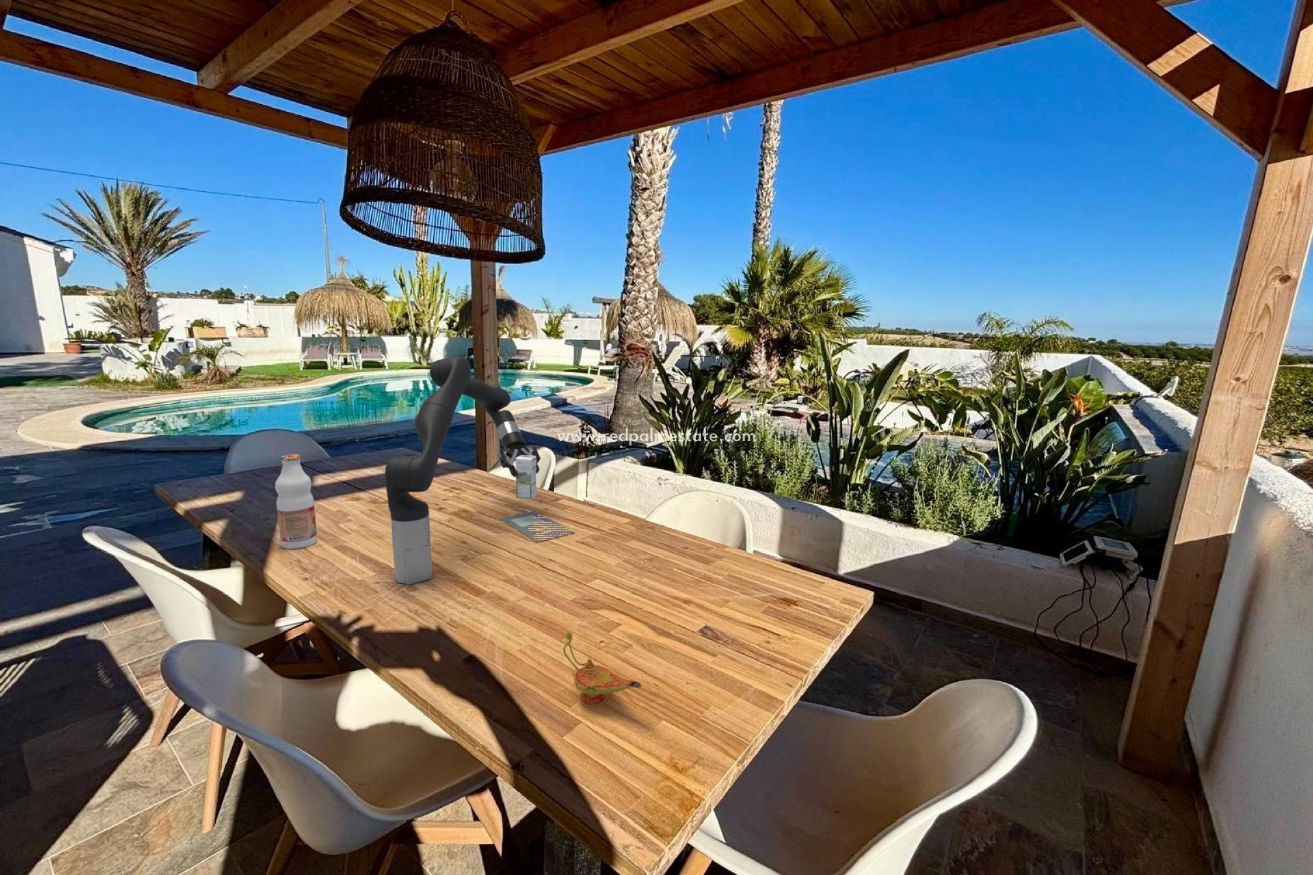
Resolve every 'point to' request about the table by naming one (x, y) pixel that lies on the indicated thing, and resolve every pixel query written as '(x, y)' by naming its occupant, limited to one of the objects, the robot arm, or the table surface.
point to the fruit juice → (295, 505)
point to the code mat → (527, 520)
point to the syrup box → (526, 477)
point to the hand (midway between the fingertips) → (526, 474)
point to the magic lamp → (596, 680)
